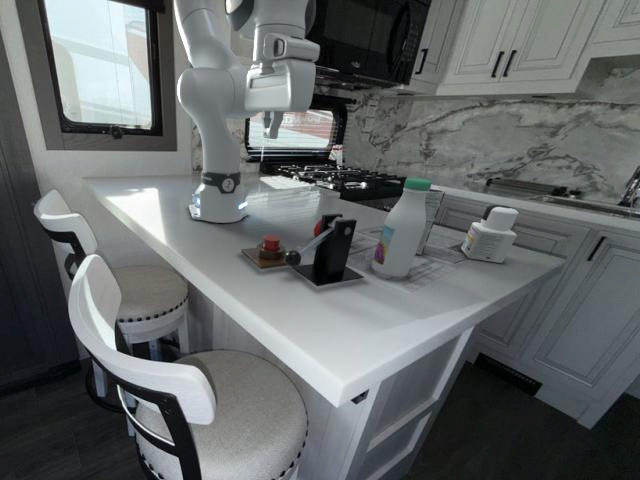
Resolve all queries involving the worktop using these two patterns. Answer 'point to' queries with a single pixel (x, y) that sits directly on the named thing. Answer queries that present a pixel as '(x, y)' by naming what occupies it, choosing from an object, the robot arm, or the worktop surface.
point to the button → (271, 243)
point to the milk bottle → (402, 230)
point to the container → (491, 235)
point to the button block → (266, 256)
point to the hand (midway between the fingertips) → (270, 138)
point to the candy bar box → (430, 213)
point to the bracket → (332, 254)
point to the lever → (309, 245)
